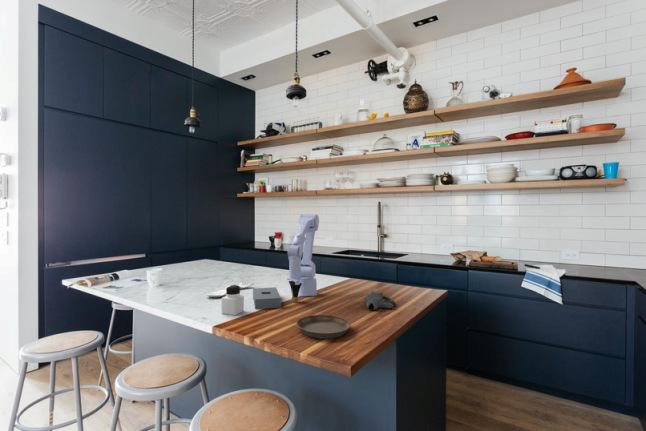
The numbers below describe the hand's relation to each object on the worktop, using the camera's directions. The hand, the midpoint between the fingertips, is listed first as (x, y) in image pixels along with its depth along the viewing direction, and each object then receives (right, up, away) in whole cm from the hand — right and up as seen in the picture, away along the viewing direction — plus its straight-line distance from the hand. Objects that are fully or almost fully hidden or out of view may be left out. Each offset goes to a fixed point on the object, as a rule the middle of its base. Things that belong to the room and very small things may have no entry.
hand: (294, 296), depth 170 cm
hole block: (-14, -3, 0) cm, 15 cm away
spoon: (-38, -3, +19) cm, 42 cm away
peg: (0, -3, 0) cm, 3 cm away
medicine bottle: (-26, -3, -18) cm, 32 cm away
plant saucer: (+14, -4, -40) cm, 42 cm away
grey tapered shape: (+42, -4, -3) cm, 43 cm away
